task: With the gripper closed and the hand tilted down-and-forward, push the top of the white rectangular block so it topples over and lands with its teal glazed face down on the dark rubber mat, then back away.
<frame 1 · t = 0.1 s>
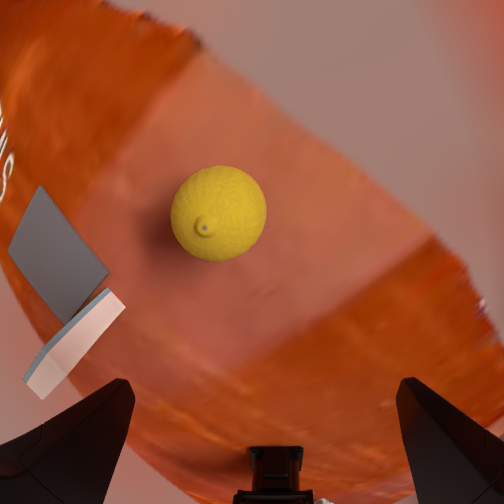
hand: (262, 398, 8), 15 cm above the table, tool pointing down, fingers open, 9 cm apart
lemon: (230, 201, 21), on the table
mat: (51, 259, 24), on the table
white rectangular block: (99, 315, 26), on the table
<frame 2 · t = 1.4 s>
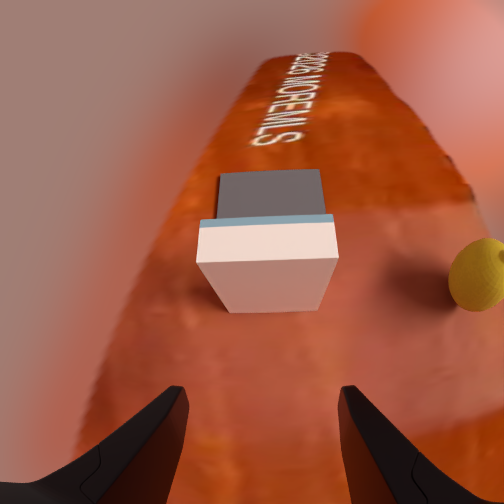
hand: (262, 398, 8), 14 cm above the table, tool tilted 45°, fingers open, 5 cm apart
lemon: (457, 293, 22), on the table
mat: (271, 218, 27), on the table
white rectangular block: (273, 297, 24), on the table
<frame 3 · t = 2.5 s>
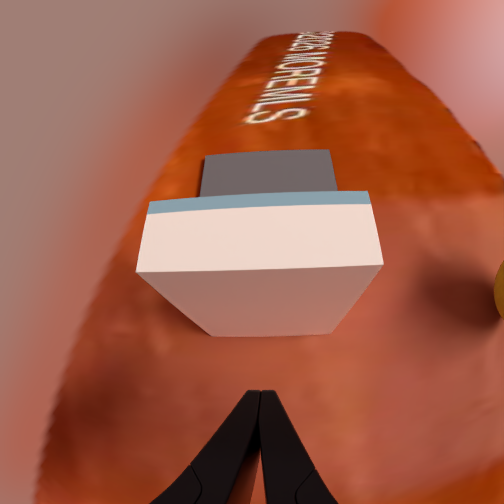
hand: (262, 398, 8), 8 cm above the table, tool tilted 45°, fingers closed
lemon: (499, 305, 16), on the table
mat: (268, 209, 21), on the table
white rectangular block: (270, 315, 17), on the table
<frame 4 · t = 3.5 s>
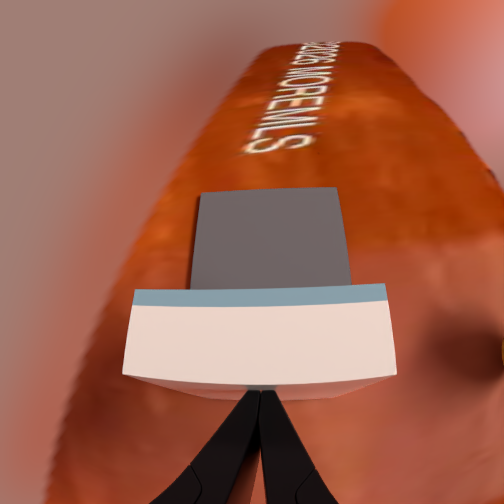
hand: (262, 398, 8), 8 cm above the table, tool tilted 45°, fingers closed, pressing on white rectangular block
mat: (270, 260, 19), on the table
white rectangular block: (270, 379, 16), on the table, touching gripper
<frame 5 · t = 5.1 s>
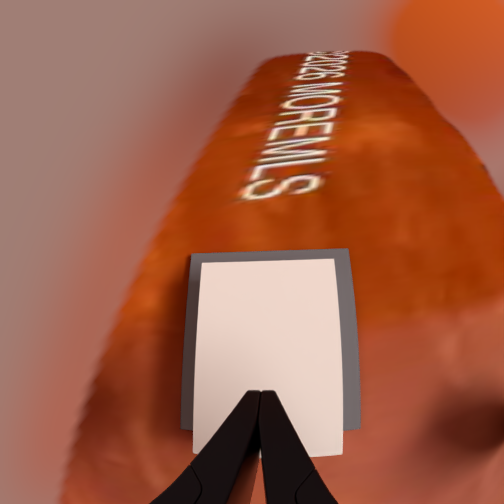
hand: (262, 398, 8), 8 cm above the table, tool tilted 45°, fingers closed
mat: (270, 340, 16), on the table
white rectangular block: (268, 452, 12), point 2 cm above the table, tilted 90°, touching mat
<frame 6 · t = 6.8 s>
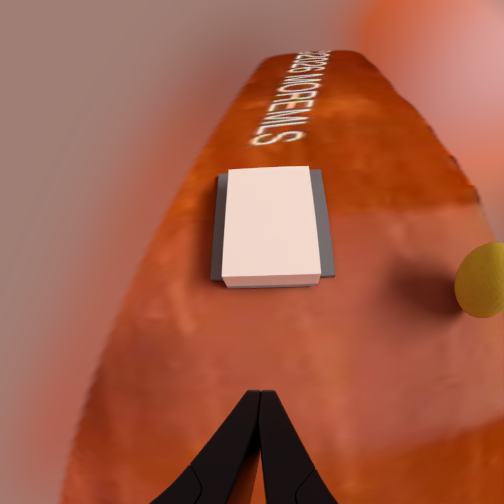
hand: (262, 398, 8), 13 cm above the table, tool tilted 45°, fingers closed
lemon: (462, 298, 21), on the table
mat: (271, 220, 26), on the table
white rectangular block: (271, 281, 22), point 2 cm above the table, tilted 90°, touching mat
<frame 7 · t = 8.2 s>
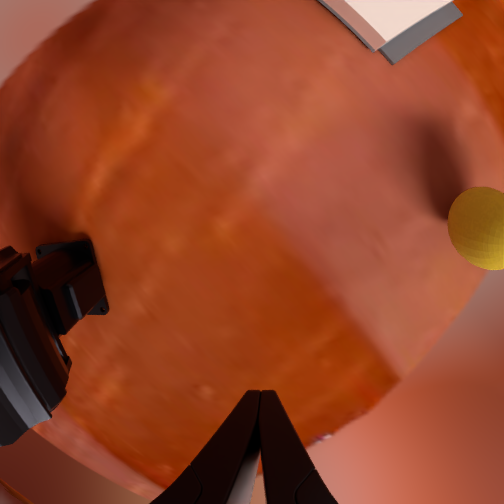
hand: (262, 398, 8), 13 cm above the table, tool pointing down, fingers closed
lemon: (454, 214, 19), on the table
white rectangular block: (342, 10, 13), point 2 cm above the table, tilted 90°, touching mat
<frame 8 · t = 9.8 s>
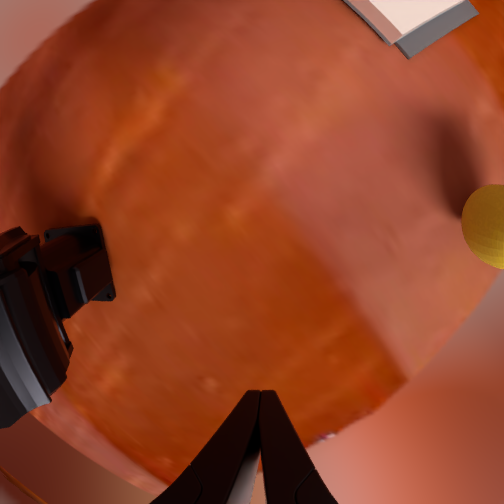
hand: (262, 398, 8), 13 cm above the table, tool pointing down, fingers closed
lemon: (468, 212, 18), on the table
white rectangular block: (358, 3, 13), point 2 cm above the table, tilted 90°, touching mat
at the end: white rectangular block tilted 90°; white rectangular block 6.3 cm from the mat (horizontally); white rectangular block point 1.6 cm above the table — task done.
